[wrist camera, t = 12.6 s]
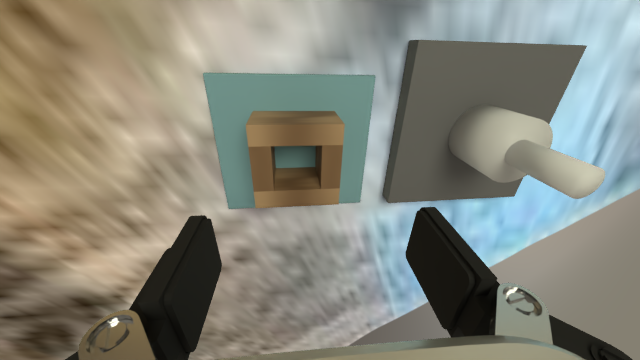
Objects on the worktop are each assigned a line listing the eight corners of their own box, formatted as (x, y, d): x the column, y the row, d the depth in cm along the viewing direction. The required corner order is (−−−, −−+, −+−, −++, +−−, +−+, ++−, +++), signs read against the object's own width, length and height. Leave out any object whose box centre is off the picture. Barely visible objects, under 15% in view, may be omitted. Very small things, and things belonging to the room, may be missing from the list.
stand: (567, 45, 20) (802, 44, 11) (503, 189, 27) (615, 262, 18) (409, 40, 19) (531, 33, 9) (382, 194, 25) (438, 279, 16)
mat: (373, 75, 20) (375, 75, 19) (358, 200, 25) (359, 202, 25) (204, 72, 18) (203, 73, 18) (229, 206, 24) (228, 208, 23)
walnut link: (334, 110, 20) (344, 124, 17) (330, 180, 23) (338, 204, 20) (252, 110, 19) (245, 124, 16) (260, 183, 22) (255, 208, 19)
